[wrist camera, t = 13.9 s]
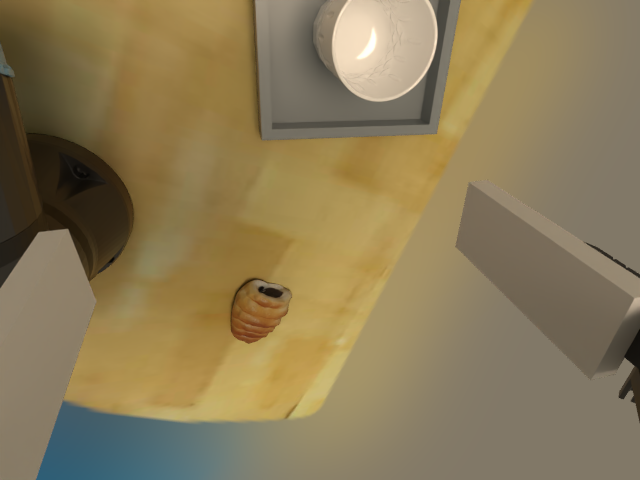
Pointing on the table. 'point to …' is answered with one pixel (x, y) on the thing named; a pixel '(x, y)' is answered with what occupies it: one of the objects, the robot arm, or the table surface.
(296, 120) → the tray
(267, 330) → the pastry
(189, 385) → the table surface
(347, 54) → the white cup
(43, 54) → the table surface
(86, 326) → the robot arm
